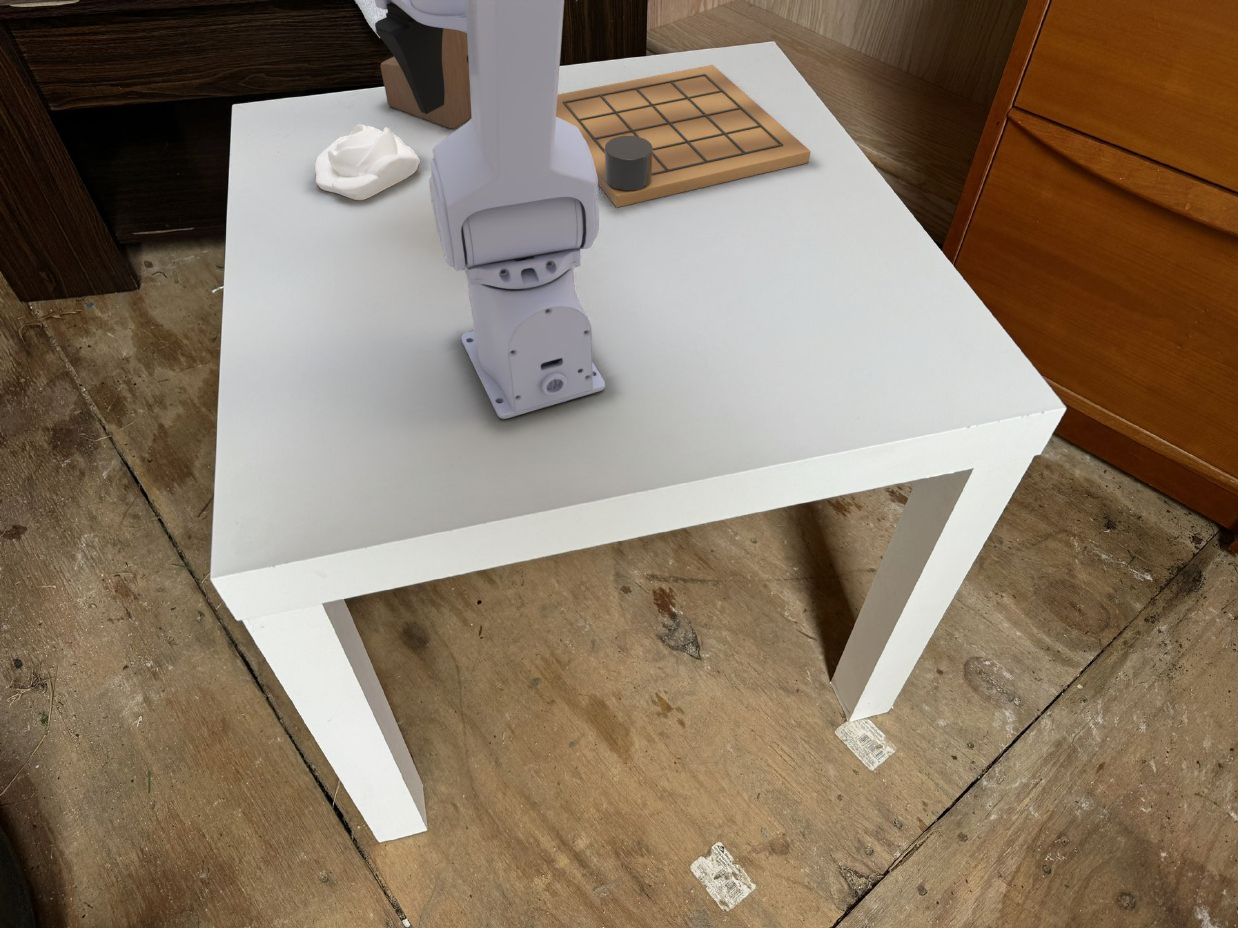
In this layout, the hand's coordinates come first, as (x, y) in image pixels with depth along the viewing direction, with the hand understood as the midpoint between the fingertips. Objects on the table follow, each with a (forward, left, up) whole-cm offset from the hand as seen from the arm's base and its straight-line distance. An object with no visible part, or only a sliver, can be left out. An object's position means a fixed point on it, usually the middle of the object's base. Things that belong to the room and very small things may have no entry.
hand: (467, 122), depth 70 cm
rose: (+12, +7, -10) cm, 17 cm away
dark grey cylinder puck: (0, -14, -8) cm, 16 cm away
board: (+8, -22, -9) cm, 25 cm away
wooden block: (+22, -2, -10) cm, 24 cm away
